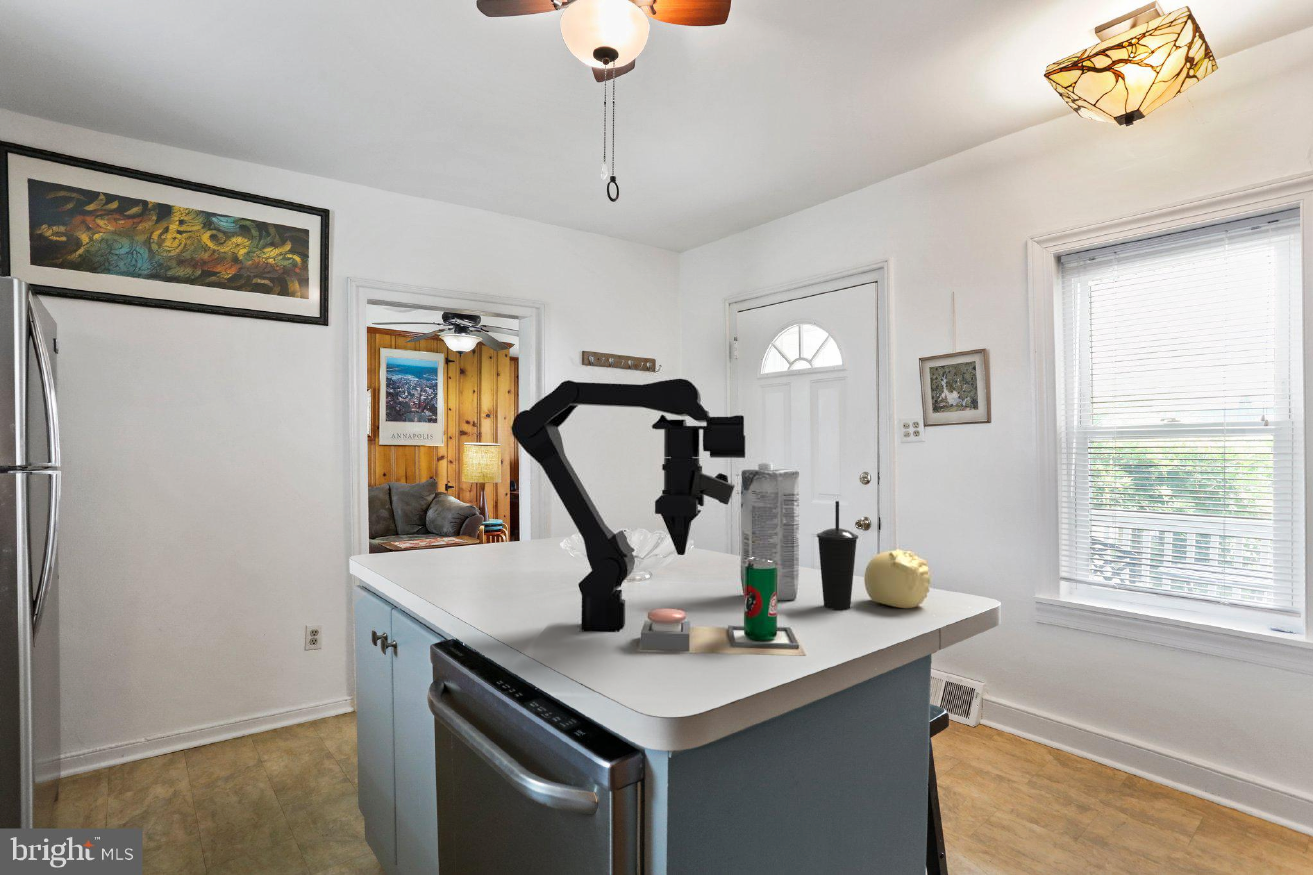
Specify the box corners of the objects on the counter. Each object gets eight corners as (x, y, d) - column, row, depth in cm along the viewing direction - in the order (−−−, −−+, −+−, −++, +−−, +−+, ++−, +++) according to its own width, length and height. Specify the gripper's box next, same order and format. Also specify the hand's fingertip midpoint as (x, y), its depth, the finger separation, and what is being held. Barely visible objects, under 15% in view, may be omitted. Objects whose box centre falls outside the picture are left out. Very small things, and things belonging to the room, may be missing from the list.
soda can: (776, 643, 100) (776, 562, 100) (742, 641, 101) (742, 561, 101) (777, 634, 105) (777, 557, 105) (745, 632, 106) (745, 556, 106)
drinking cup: (843, 613, 121) (843, 503, 121) (808, 606, 127) (808, 500, 127) (866, 607, 126) (866, 501, 126) (831, 600, 132) (831, 499, 132)
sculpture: (923, 615, 121) (923, 555, 121) (857, 606, 127) (857, 549, 127) (936, 603, 130) (935, 547, 130) (873, 595, 137) (873, 543, 137)
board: (636, 655, 96) (636, 646, 96) (644, 629, 110) (644, 621, 110) (806, 659, 94) (806, 651, 94) (792, 632, 108) (792, 625, 108)
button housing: (640, 650, 96) (640, 632, 96) (644, 636, 103) (644, 620, 103) (689, 651, 96) (689, 633, 96) (689, 637, 103) (690, 621, 103)
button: (645, 647, 97) (646, 617, 97) (648, 636, 102) (649, 608, 102) (684, 648, 96) (684, 618, 97) (685, 637, 102) (685, 609, 102)
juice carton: (803, 600, 131) (804, 463, 132) (754, 603, 128) (755, 463, 129) (782, 591, 140) (783, 462, 140) (736, 594, 137) (736, 462, 137)
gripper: (730, 458, 97) (729, 566, 97) (733, 457, 116) (732, 547, 116) (654, 458, 99) (654, 563, 99) (669, 457, 117) (669, 546, 117)
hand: (681, 554), depth 107 cm, fingers closed
